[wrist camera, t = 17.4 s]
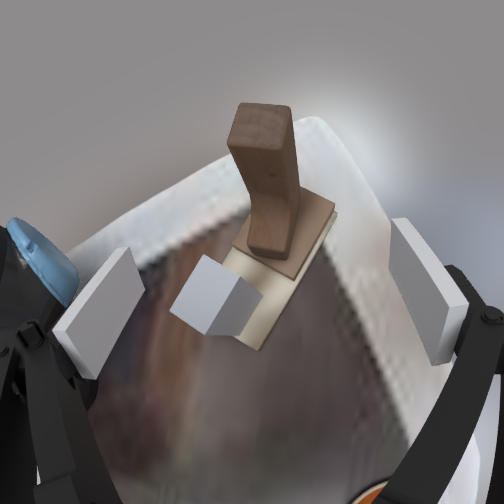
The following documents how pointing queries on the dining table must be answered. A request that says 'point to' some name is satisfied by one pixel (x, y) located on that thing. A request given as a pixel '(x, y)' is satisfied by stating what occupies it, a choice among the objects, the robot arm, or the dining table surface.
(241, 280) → the grey pillar
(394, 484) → the robot arm
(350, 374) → the dining table surface
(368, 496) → the stacking toy
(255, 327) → the base board
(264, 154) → the wooden block
